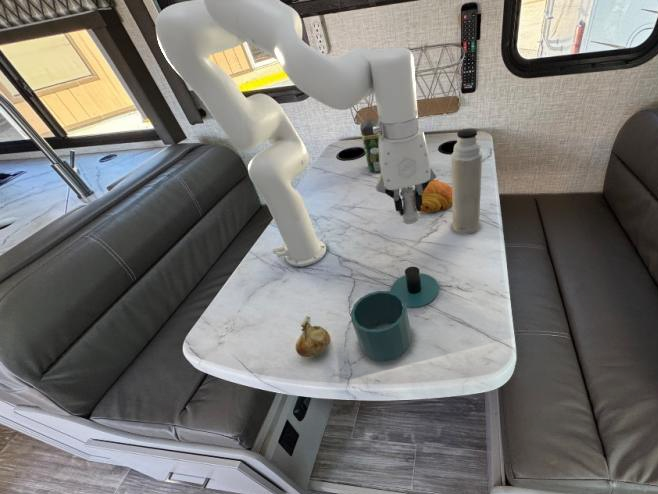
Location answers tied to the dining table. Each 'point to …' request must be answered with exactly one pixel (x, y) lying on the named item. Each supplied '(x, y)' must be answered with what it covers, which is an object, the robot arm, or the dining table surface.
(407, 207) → the rook chess piece
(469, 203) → the thermos bottle
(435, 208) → the croissant
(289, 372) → the dining table surface
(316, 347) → the onion
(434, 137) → the dining table surface
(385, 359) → the canister
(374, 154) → the coffee jar
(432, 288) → the canister lid
